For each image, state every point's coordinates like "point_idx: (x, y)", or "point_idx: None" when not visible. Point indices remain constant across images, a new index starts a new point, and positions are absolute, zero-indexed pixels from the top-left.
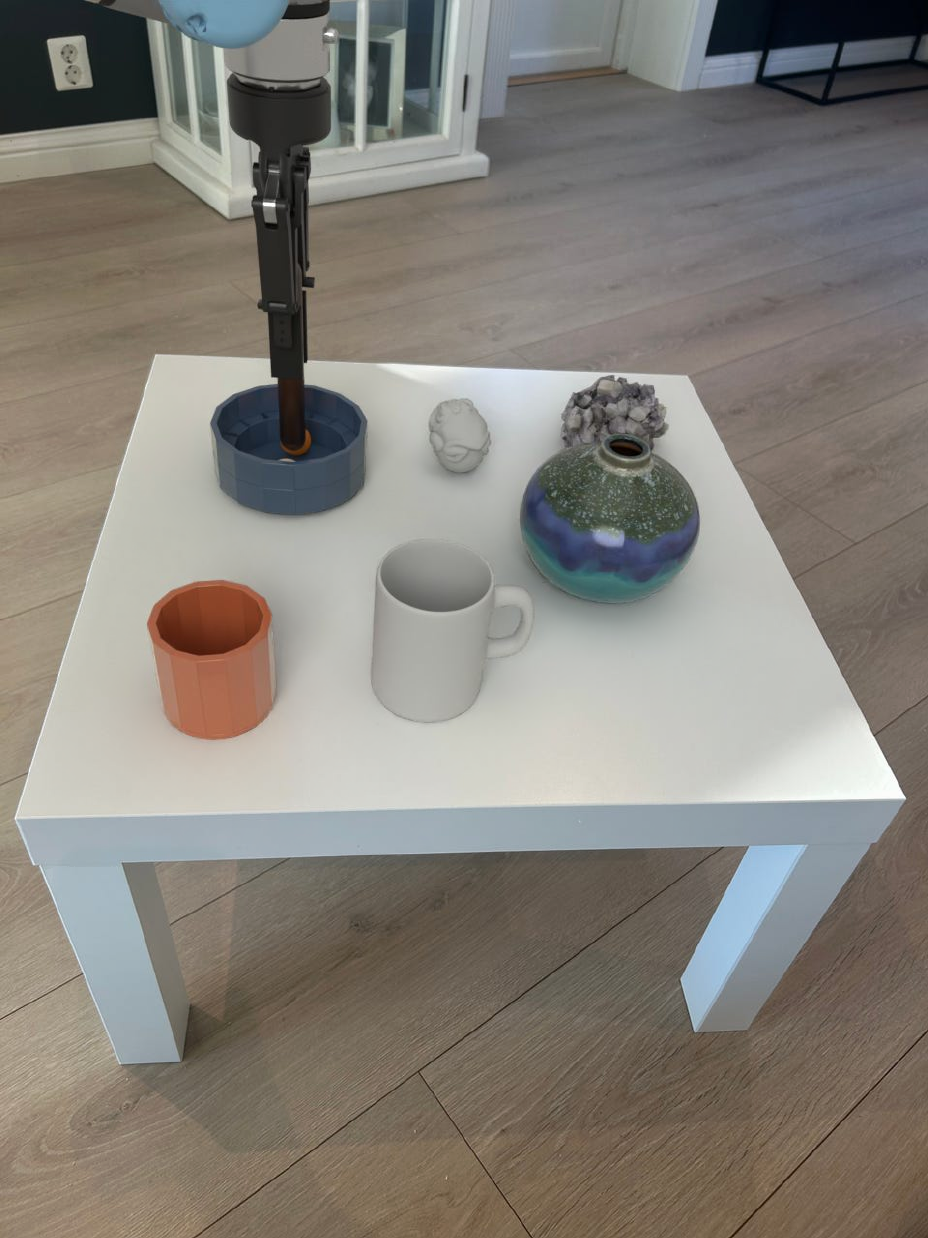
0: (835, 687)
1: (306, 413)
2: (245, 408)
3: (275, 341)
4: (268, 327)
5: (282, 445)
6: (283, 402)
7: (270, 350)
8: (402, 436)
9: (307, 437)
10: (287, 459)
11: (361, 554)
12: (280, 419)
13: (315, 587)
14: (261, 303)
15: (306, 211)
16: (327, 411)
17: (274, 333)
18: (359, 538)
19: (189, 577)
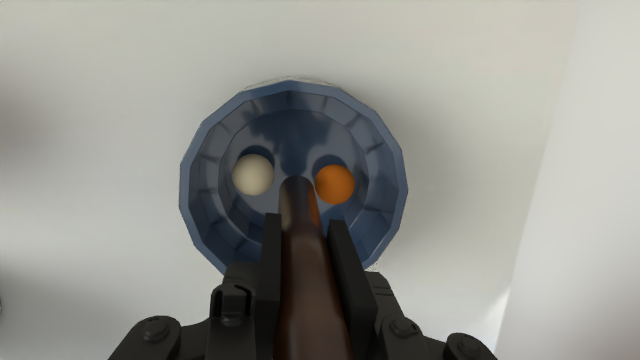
0: None
1: (377, 202)
2: (370, 125)
3: (226, 271)
4: (260, 265)
5: (324, 167)
6: (281, 207)
7: (262, 239)
8: None
9: (326, 202)
10: (257, 182)
11: (143, 246)
12: (287, 189)
13: (75, 200)
14: (147, 329)
15: None
16: (370, 232)
17: (223, 282)
18: (173, 244)
19: (67, 55)
